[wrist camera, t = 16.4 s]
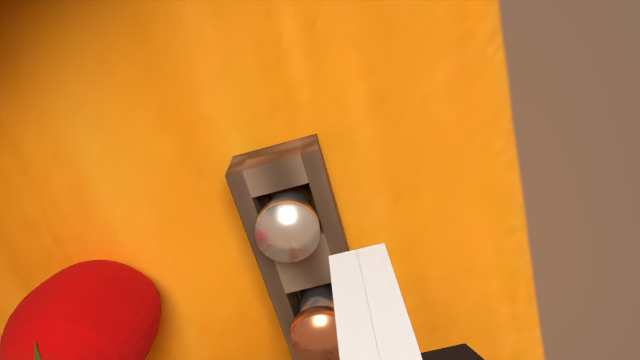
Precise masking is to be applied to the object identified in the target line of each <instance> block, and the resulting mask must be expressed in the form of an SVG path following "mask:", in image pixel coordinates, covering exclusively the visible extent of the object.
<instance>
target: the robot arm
mask: <svg viewBox="0 0 640 360" xmlns="http://www.w3.org/2000/svg"><path fill="white" fill-rule="evenodd" d="M329 264H330V274H331V283H332V292H333V302H334V311H335V320H336V329H337V339H338V348H339V357H340V360H484V359H483V358H482V357H481V356H479V355H478V354H477V353H476V352H475V351H474V350H472V349H471V348H470V347H469V346H468V345H466V344H460V345H456V346H451V347H447V348H442V349H437V350H433V351H428V352H424V353H420V351H419V347H418V344H417V341H416V338H415V335H414V332H413V329H412V326H411V323H410V320H409V317H408V314H407V311H406V308H405V305H404V302H403V299H402V296H401V293H400V289H399V286H398V283H397V280H396V277H395V274H394V271H393V268H392V265H391V262H390V259H389V256H388V253H387V250H386V247H385V244H384V243H382V244H378V245H373V246H369V247H365V248H361V249H356V250H352V251H348V252H343V253H339V254H335V255H330V256H329Z"/></svg>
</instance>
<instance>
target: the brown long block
mask: <svg viewBox="0 0 640 360" xmlns="http://www.w3.org/2000/svg"><path fill="white" fill-rule="evenodd" d="M225 177H226V180H227V183H228V185H229V188H230V191H231V193H232V196H233V199H234V201H235V204H236V207H237V210H238V212H239V215H240V218H241V220H242V223H243V226H244V228H245V231H246V234H247V237H248V239H249V242H250V245H251V247H252V250H253V253H254V255H255V258H256V261H257V263H258V266H259V269H260V272H261V274H262V277H263V280H264V282H265V285H266V288H267V290H268V293H269V296H270V299H271V301H272V304H273V307H274V309H275V312H276V315H277V317H278V320H279V323H280V326H281V328H282V331H283V334H284V336H285V339H286V342H287V344H288V347H289V350H290V352H291V355H292V358H293V360H301V359H299V358H298V357H297V356H296V355H295V354H294V352H293V351H292V348H291V345H290V332H291V324H292V322H293V320H294V318H295V317H296V316H297V315H298V314H299V313H300V300H299V297H298V294H297V291H299V290H303V289H307V288H311V287H315V286H319V285H323V284H327V283H331V274H330V264H329V256H330V255H335V254H339V253H343V252H348V251H350V249H349V246H348V242H347V239H346V235H345V232H344V228H343V225H342V221H341V218H340V214H339V211H338V207H337V204H336V200H335V197H334V193H333V190H332V186H331V183H330V179H329V176H328V172H327V168H326V165H325V161H324V158H323V154H322V151H321V147H320V144H319V140H318V137H317V134H314V135H310V136H307V137H303V138H299V139H295V140H292V141H288V142H284V143H281V144H277V145H273V146H270V147H266V148H262V149H259V150H255V151H251V152H248V153H244V154H240V155H237V156H233V158H232V160H231V163H230V165H229V167H228V170H227V172H226V175H225ZM306 183H309V185H310V188H311V192H312V195H313V198H314V202H315V205H316V208H317V211H315V212H316V214H317V216H318V219H319V225H320V239H319V243H318V245H317V247H316V249H315V250H314V251H313V252H312V253H311V254H310V255H309V256H308V257H306V258H304V259H302V260H300V261H297V262H291V263H284V262H279V261H275V260H273V259H271V258H269V257H268V256H266V255H265V254H264V253H263V252H262V251H261V250H260V249H259V247H258V245H257V243H256V240H255V227H256V222H257V218H258V215H259V213H260V211H261V210H262V209H263V208H264V206H266V205H267V204H266V201H265V198H264V195H265V194H268V193H272V192H276V191H280V190H283V189H287V188H291V187H295V186H299V185H302V184H306Z"/></svg>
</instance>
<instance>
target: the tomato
mask: <svg viewBox="0 0 640 360" xmlns="http://www.w3.org/2000/svg"><path fill="white" fill-rule="evenodd" d="M160 315H161V303H160V295H159V292H158V291H157V289H156V287H155V286H154V284H153V282H152V281H151V280H149V279H148V278H147V277H146V276H144V275H143V274H141V273H140V272H138V271H137V270H135V269H133V268H131V267H129V266H126V265H124V264H121V263H117V262H114V261H108V260H92V261H85V262H80V263H77V264H74V265H72V266H69V267H67V268H65V269H63V270H61V271H59V272H58V273H56V274H55V275H53V276H52V277H50V278H49V279H47V280H46V281H44V282H43V283H42V284H40V285H39V286H38V287H36V288H35V289H34V290H33V291H32V292H30V293H29V294H28V295H27V296H26V297H25V298H24V299H23V300H22V301H21V302H20V304H19V305H18V306H17V307H16V309H15V310H14V312H13V313H12V314H11V316H10V317H9V319H8V321H7V324H6V326H5V328H4V331H3V334H2V337H1V341H0V360H144V359H145V357H146V356H147V354H148V352H149V350H150V348H151V346H152V344H153V341H154V339H155V337H156V334H157V332H158V328H159V322H160Z"/></svg>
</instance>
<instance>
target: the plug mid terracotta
mask: <svg viewBox="0 0 640 360" xmlns="http://www.w3.org/2000/svg"><path fill="white" fill-rule="evenodd" d="M290 345H291V348H292V351H293V352H294V354H295V355H296V356H297V357H298V358H299V359H301V360H340V357H339V348H338V339H337V329H336V320H335V311H334V302H333V292H332V283H327V284H323V285H319V286H315V287H311V288H307V289H303V290H300V313H299V314H298V315H297V316H296V317H295V318H294V320H293V322H292V324H291V332H290Z"/></svg>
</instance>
